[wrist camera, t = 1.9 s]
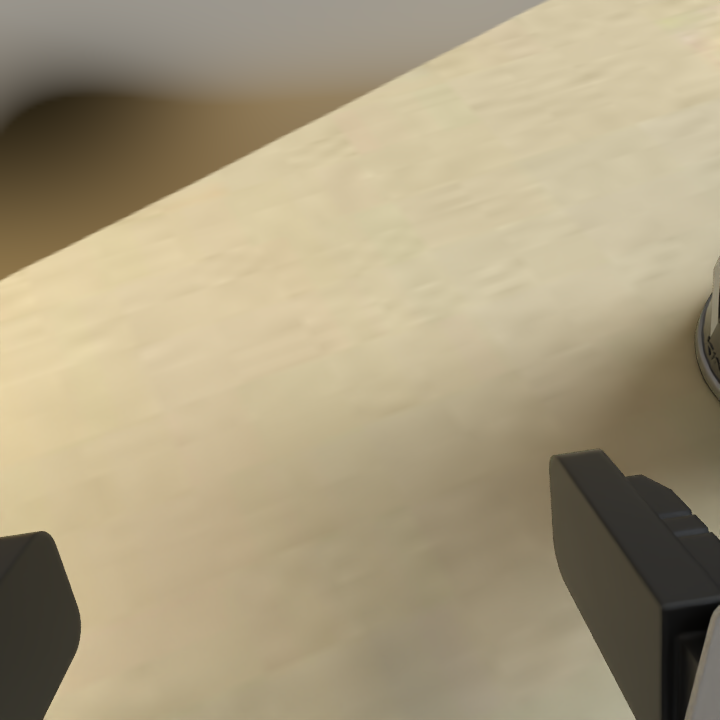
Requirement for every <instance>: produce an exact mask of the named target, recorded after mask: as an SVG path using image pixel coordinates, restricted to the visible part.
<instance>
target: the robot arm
mask: <svg viewBox="0 0 720 720" xmlns="http://www.w3.org/2000/svg"><path fill="white" fill-rule="evenodd" d="M695 349H696V356H697V360H698V364H699V367H700V370H701V372H702V374H703V376H704V378H705V380H706V382H707V384H708V385H709V387H710V389H711V390H712V391H713V393H714V394H715V395H716V397H717V398H718V399H719V400H720V256H719V258H718V261H717V263H716V265H715V268H714V277H713V292H712V294H711V295H710V297H709V298H708V300H707V302H706V304H705V306H704V308H703V310H702V313H701V315H700V318H699V320H698V324H697V328H696V335H695ZM549 474H550V492H551V509H552V526H553V541H554V549H555V554H556V559H557V563H558V566H559V569H560V572H561V575H562V578H563V580H564V582H565V584H566V586H567V588H568V590H569V592H570V594H571V596H572V597H573V599H574V601H575V603H576V605H577V607H578V609H579V611H580V613H581V615H582V617H583V619H584V620H585V622H586V624H587V626H588V628H589V630H590V632H591V634H592V636H593V638H594V640H595V642H596V644H597V645H598V647H599V649H600V651H601V653H602V655H603V657H604V659H605V661H606V663H607V665H608V667H609V668H610V670H611V672H612V674H613V676H614V678H615V680H616V682H617V684H618V686H619V688H620V690H621V691H622V693H623V695H624V697H625V699H626V701H627V703H628V705H629V707H630V709H631V711H632V713H633V714H634V716H635V718H636V720H720V540H719V539H718V538H717V537H716V536H715V535H714V534H713V533H712V532H711V533H709V531H708V527H707V526H706V525H705V524H704V523H703V522H702V521H701V520H700V519H699V518H698V517H697V516H696V515H692V512H691V510H690V509H689V508H688V506H687V505H686V504H685V503H684V502H683V501H682V500H681V499H680V498H679V497H678V496H677V495H676V494H675V493H674V492H673V491H672V490H671V489H669V488H667V487H665V486H663V485H661V484H659V483H657V482H655V481H653V480H651V479H649V478H647V477H645V476H643V475H635V476H628V477H625V476H624V475H623V473H622V472H621V471H620V470H619V469H618V468H617V466H616V465H615V464H614V463H613V462H612V461H611V459H610V458H609V457H608V456H607V455H606V454H605V453H604V452H603V451H602V450H601V449H593V450H586V451H579V452H573V453H566V454H559V455H553V456H552V457H551V459H550V463H549ZM80 634H81V620H80V613H79V609H78V606H77V603H76V600H75V598H74V595H73V592H72V589H71V586H70V583H69V580H68V578H67V575H66V572H65V569H64V566H63V563H62V561H61V558H60V555H59V552H58V549H57V546H56V544H55V541H54V540H53V538H52V537H51V535H50V534H48V533H47V532H45V531H39V532H32V533H26V534H19V535H13V536H6V537H0V720H43V718H44V716H45V714H46V712H47V710H48V708H49V706H50V704H51V702H52V700H53V698H54V696H55V694H56V692H57V690H58V688H59V686H60V684H61V682H62V680H63V678H64V676H65V674H66V672H67V670H68V668H69V666H70V664H71V662H72V660H73V658H74V656H75V653H76V651H77V648H78V645H79V641H80Z"/></svg>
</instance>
